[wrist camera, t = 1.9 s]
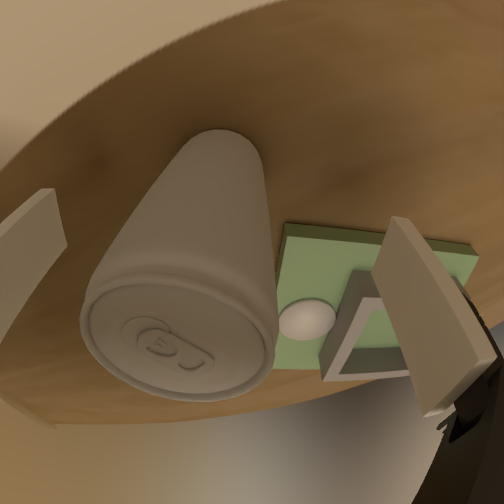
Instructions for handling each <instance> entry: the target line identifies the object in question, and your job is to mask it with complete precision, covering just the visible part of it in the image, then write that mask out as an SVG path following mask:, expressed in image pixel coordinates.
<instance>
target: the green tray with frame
mask: <svg viewBox="0 0 504 504" xmlns="http://www.w3.org/2000/svg"><path fill="white" fill-rule="evenodd" d="M385 235H386V234H384V233H376V232H367V231H358V230H349V229H340V228H331V227H322V226H312V225H302V224H291V223H285V225H284V231H283V236H282V242H281V248H280V253H279V259H278V264H277V270H276V275H275V280H276V292H277V303H278V315H279V335H278V339H277V343H276V348H275V359H274V363H273V367H272V369H320V371H321V377H322V382H323V381H350V380H367V379H380V378H390V377H400V376H409V375H410V374H409V371H408V368H407V365H406V362H405V359H404V356H403V354H402V351H401V348H400V345H399V342H398V340H397V337H396V334H395V332H394V329H393V326H392V324H391V321H390V319H389V316H388V314H387V311H386V309H385V306H384V304H383V301H382V299H381V296H380V294H379V291H378V289H377V287H376V284H375V282H374V280H373V277H372V275H371V272H372V269H373V267H374V264H375V262H376V259H377V256H378V254H379V251H380V248H381V246H382V243H383V240H384V237H385ZM425 241H426V242H427V243H428V245H429V246H430V248H431V249H432V250H433V252H434V253H435V254H436V256H437V257H438V259H439V260H440V262H441V263H442V264H443V266H444V267H445V269H446V270H447V272H448V273H449V275H450V276H451V278H452V279H453V281H454V282H455V284H456V285H457V287H458V288H459V290H460V292H462V293H463V294H464V295H465V296H466V297H467V298H468V299H469V300H471V298H470V296H469V295H468V293H467V292H466V290H465V289H464V285H465V283H466V282H467V280H468V278H469V276H470V274H471V272H472V270H473V269H474V267H475V265H476V263H477V261H478V259H479V257H480V256H479V255H478V254H477V253H476V251H475V250H474V249H473V248H472V247H471V246H470V245H466V244H459V243H452V242H445V241H438V240H431V239H425Z"/></svg>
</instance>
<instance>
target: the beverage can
mask: <svg viewBox="0 0 504 504" xmlns="http://www.w3.org/2000/svg"><path fill="white" fill-rule="evenodd" d="M79 324H80V333H81V336H82V338H83V340H84V343H85V345H86V347H87V349H88V350H89V352H90V353H91V354H92V355H93V357H94V358H95V359H96V360H97V361H98V363H99V364H100V365H102V366H103V367H104V368H105V369H106V370H108V371H109V372H110V373H111V374H112V375H114V376H115V377H117V378H118V379H120V380H122V381H123V382H125V383H127V384H129V385H130V386H132V387H135V388H137V389H139V390H142V391H144V392H147V393H149V394H152V395H156V396H160V397H163V398H167V399H171V400H179V401H187V402H214V401H220V400H225V399H231V398H234V397H237V396H239V395H242V394H245V393H247V392H249V391H251V390H252V389H254V388H255V387H257V386H258V385H260V384H261V383H262V382H263V381H264V380H265V378H266V377H267V376H268V375H269V373H270V372H271V371H272V367H273V363H274V359H275V348H276V343H277V339H278V335H279V315H278V303H277V292H276V280H275V269H274V258H273V248H272V238H271V228H270V219H269V211H268V203H267V195H266V188H265V180H264V172H263V166H262V161H261V159H260V156H259V154H258V151H257V150H256V148H255V147H254V146H253V144H252V143H251V142H250V141H249V140H248V139H246V138H245V137H243V136H242V135H241V134H239V133H236V132H232V131H229V130H219V129H214V130H209V131H204V132H202V133H200V134H198V135H196V136H194V137H192V138H191V139H190V140H189V141H188V142H187V143H186V144H185V145H184V146H183V147H182V148H181V149H180V150H179V152H178V153H177V154H176V155H175V157H174V158H173V159H172V160H171V162H170V163H169V164H168V165H167V167H166V168H165V169H164V171H163V172H162V173H161V174H160V176H159V177H158V178H157V180H156V181H155V182H154V184H153V185H152V186H151V188H150V189H149V190H148V192H147V193H146V194H145V196H144V197H143V199H142V200H141V201H140V203H139V204H138V206H137V207H136V208H135V210H134V211H133V213H132V214H131V215H130V217H129V218H128V220H127V221H126V223H125V224H124V226H123V227H122V229H121V230H120V232H119V233H118V235H117V236H116V238H115V239H114V241H113V242H112V244H111V245H110V247H109V248H108V250H107V252H106V253H105V255H104V256H103V258H102V260H101V261H100V263H99V264H98V266H97V268H96V269H95V271H94V273H93V275H92V277H91V279H90V282H89V285H88V288H87V290H86V294H85V301H84V303H83V306H82V309H81V313H80V316H79Z"/></svg>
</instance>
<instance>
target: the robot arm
mask: <svg viewBox="0 0 504 504" xmlns="http://www.w3.org/2000/svg"><path fill="white" fill-rule="evenodd" d="M66 247H67V242H66V238H65V234H64V230H63V226H62V222H61V217H60V213H59V208H58V203H57V198H56V193H55V188H47V189H40V190H39V191H38V192H36V193H35V194H34V195H33V196H31V197H30V198H29V199H28V200H27V201H25V202H24V203H23V204H22V205H21V206H20V207H18V208H17V209H16V210H15V211H14V212H13V213H12V214H10V215H9V216H8V217H7V218H6V219H5V220H4V221H3V222H2V223H1V224H0V343H1V342H2V340H3V338H4V336H5V335H6V333H7V331H8V330H9V328H10V326H11V325H12V323H13V322H14V320H15V318H16V317H17V315H18V314H19V312H20V311H21V309H22V307H23V306H24V304H25V303H26V301H27V300H28V299H29V297H30V296H31V294H32V293H33V291H34V290H35V288H36V287H37V286H38V284H39V283H40V281H41V280H42V279H43V277H44V276H45V274H46V273H47V272H48V270H49V269H50V268H51V266H52V265H53V264H54V262H55V261H56V260H57V259H58V257H59V256H60V255H61V253H62V252H63V251H64V250H65V248H66ZM371 275H372V277H373V280H374V282H375V284H376V287H377V289H378V291H379V294H380V296H381V299H382V301H383V304H384V306H385V309H386V311H387V314H388V316H389V319H390V321H391V324H392V326H393V329H394V332H395V334H396V337H397V340H398V342H399V345H400V348H401V351H402V354H403V356H404V359H405V362H406V365H407V368H408V371H409V374H410V377H411V380H412V383H413V386H414V390H415V393H416V396H417V399H418V403H419V406H420V409H421V413H422V416H423V417H427V416H431V415H436V414H440V413H443V412H444V411H445V410H446V409H447V408H448V407H449V406H450V405H451V404H453V403H454V405H455V408H456V411H454V412H453V413H452V414H451V415H450V416H449V417H447V418H446V419H445V420H444V421H443V422H441V423H440V424H439V425H438V427H437V430H440V429H441V428H442V427H444V426H445V425H446V424H447V427H446V429H445V430H444V431H443V432H442V433H444V436H443V438H442V441H441V443H440V445H439V448H438V450H437V452H436V455H435V457H434V460H433V462H432V464H431V466H430V468H429V470H428V473H427V475H426V477H425V479H424V481H423V483H422V485H421V487H420V489H419V491H418V493H417V495H416V496H415V498H414V500H413V502H412V504H504V359H503V356H502V354H501V352H500V350H499V349H498V347H497V345H496V343H495V341H494V339H493V337H492V336H491V334H490V332H489V330H488V328H487V326H485V325H484V324H485V323H484V321H483V320H482V318H481V316H479V313H478V311H477V309H476V308H475V306H474V305H473V303H472V302H471V301H470V300H469V299H468V298H467V297H466V296H465V295H464V294H463V293H462V292H460V290H459V288H458V287H457V285H456V284H455V282H454V281H453V279H452V278H451V276H450V275H449V273H448V272H447V270H446V269H445V267H444V266H443V264H442V263H441V262H440V260H439V259H438V257H437V256H436V254H435V253H434V252H433V250H432V249H431V248H430V246H429V245H428V243H427V242H426V241H425V239H424V238H423V237H422V235H421V234H420V233H419V232H418V230H417V229H416V228H415V226H414V225H413V224H412V223H411V221H410V220H409V219H408V218H402V217H396V216H392V217H391V220H390V223H389V226H388V229H387V232H386V235H385V237H384V240H383V243H382V246H381V248H380V251H379V254H378V256H377V259H376V262H375V264H374V267H373V269H372V272H371Z"/></svg>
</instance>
